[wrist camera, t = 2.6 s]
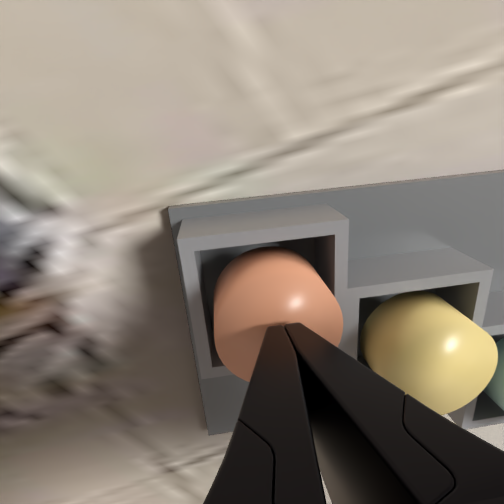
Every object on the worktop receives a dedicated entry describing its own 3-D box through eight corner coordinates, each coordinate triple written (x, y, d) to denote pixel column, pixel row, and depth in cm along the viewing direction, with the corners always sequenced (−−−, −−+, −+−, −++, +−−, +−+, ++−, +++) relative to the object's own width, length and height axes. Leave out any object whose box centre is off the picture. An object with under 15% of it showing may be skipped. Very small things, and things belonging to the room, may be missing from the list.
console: (587, 160, 12) (670, 168, 10) (526, 375, 16) (578, 416, 14) (169, 205, 11) (159, 227, 9) (208, 427, 15) (208, 481, 12)
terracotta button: (319, 240, 10) (344, 266, 8) (320, 334, 11) (342, 375, 9) (206, 253, 10) (205, 284, 8) (220, 348, 11) (222, 394, 9)
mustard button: (458, 284, 11) (508, 316, 9) (445, 365, 12) (486, 407, 11) (361, 297, 11) (392, 333, 9) (358, 379, 12) (384, 425, 10)
